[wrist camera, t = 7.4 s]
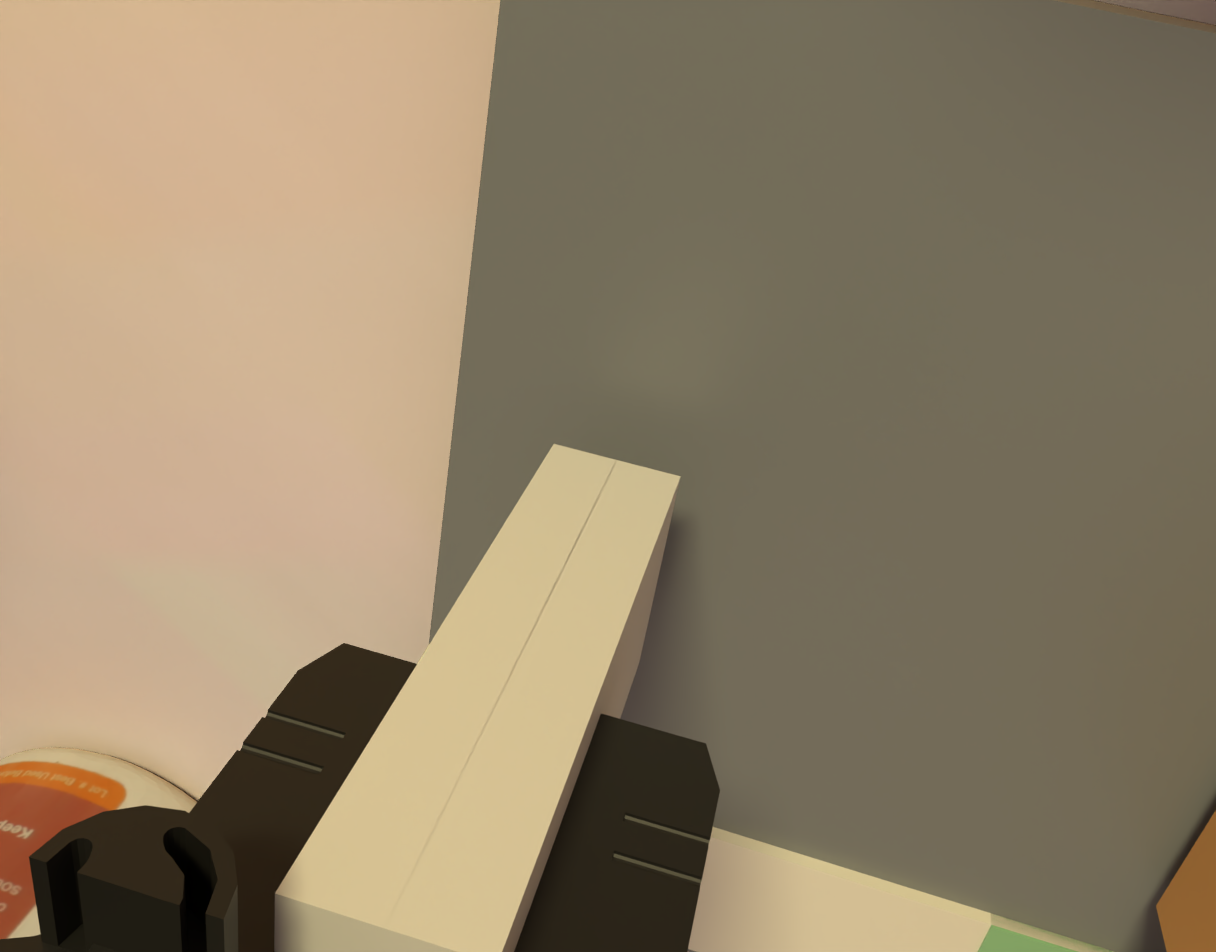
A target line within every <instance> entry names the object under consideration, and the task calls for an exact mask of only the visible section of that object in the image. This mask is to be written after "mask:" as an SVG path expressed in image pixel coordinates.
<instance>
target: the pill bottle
mask: <svg viewBox="0 0 1216 952" xmlns="http://www.w3.org/2000/svg"><path fill="white" fill-rule="evenodd" d="M196 803H197V802H196V801H195V800H194V799H192V798H191V797H190V796H188V795H187V794H186V793H184V792H183V791H182V790H180V789H178V788H177V787H175V786H174V785H172V784H171V783H169V782H167V781H165V780H164V779H162V778H160V777H158V776H156V775H155V774H153V773H151V772H149V771H147V770H145V769H143V768H141V767H138V766H136V765H134V764H131V763H129V762H127V761H124V760H121V759H118V758H115V757H112V756H109V755H105V754H100V753H95V752H90V751H85V750H80V749H74V748H61V747H56V748H39V749H32V750H27V751H23V752H19V753H15V754H13V755H10V756H8V757H5V758H3V759H1V760H0V939H8V938H19V937H30V936H36V935H39V934H41V933H40V927H39V920H38V914H37V907H36V901H35V894H34V888H33V881H32V875H31V868H30V861H29V856H30V855H32V854H33V853H34V852H35V851H36V850H38V849H39V848H40V847H41V846H43V845H44V844H45V843H46V842H47V841H49V840H50V839H51V838H52V837H54V836H55V835H56V834H57V833H58V832H60V831H61V830H62V829H64V828H66V827H69V826H71V825H73V824H76V823H78V822H80V821H83V820H85V819H87V818H89V817H92V816H94V815H96V814H99V813H101V812H104V811H110V810H117V809H124V808H130V807H137V806H144V805H147V806H155V807H162V808H169V809H177V810H184V811H186V812H188V813H189V812H190V811H191V810H192V809H193V807H194V806H195V805H196Z"/></svg>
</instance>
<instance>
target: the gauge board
mask: <svg viewBox="0 0 1216 952" xmlns="http://www.w3.org/2000/svg"><path fill="white" fill-rule="evenodd" d="M553 444H557V445H561V446H564V447H568V448H572V449H576V450H580V451H584V452H588V453H592V454H596V455H599V456H603V457H607V458H611V459H615V460H619V461H623V462H627V463H631V464H634V465H638V466H642V467H646V468H650V469H654V470H658V471H662V472H665V473H669V474H673V475H677V476H681V477H680V482H679V486H678V491H677V495H676V500H675V504H674V509H673V513H672V518H671V522H670V527H669V531H668V536H667V540H666V545H665V549H664V554H663V558H662V563H661V567H660V572H659V576H658V580H657V585H656V589H655V594H654V598H653V603H652V607H651V612H650V616H649V621H648V625H647V630H646V634H645V639H644V643H643V648H642V652H641V657H640V661H639V665H638V668H637V671H636V673H635V676H634V679H633V682H632V685H631V688H630V691H629V694H628V697H627V700H626V703H625V706H624V709H623V712H622V715H621V718H620V719H622V720H626V721H629V722H633V723H636V724H640V725H643V726H647V727H650V728H654V729H657V730H661V731H664V732H668V733H671V734H675V735H678V736H682V737H685V738H689V739H692V740H696V741H699V742H703V743H706V745H707V748H708V752H709V755H710V758H711V762H712V765H713V768H714V772H715V775H716V778H717V782H718V785H719V788H720V793H719V798H718V803H717V808H716V813H715V818H714V823H713V828H712V833H711V837H710V841H709V845H708V852H707V857H706V862H705V867H704V872H703V877H702V881H701V885H700V892H699V896H698V901H697V906H696V911H695V916H694V921H693V926H692V931H691V936H690V941H689V946H688V950H687V951H689V952H1167V951H1166V947H1165V942H1164V938H1163V934H1162V930H1161V925H1160V921H1159V917H1158V913H1157V908H1156V905H1157V903H1158V902H1159V900H1160V899H1161V897H1162V895H1163V894H1164V892H1165V891H1166V889H1167V887H1168V886H1169V884H1170V883H1171V881H1172V879H1173V878H1174V876H1175V875H1176V873H1177V871H1178V870H1179V868H1180V867H1181V865H1182V863H1183V862H1184V860H1185V859H1186V857H1187V855H1188V854H1189V852H1190V850H1191V849H1192V847H1193V846H1194V844H1195V842H1196V841H1197V839H1198V838H1199V836H1200V834H1201V833H1202V831H1203V830H1204V828H1205V826H1206V825H1207V823H1208V822H1209V820H1210V818H1211V817H1212V815H1213V814H1214V812H1215V810H1216V25H1211V24H1206V23H1201V22H1196V21H1191V20H1187V19H1182V18H1177V17H1172V16H1167V15H1162V14H1157V13H1152V12H1147V11H1143V10H1138V9H1133V8H1128V7H1123V6H1118V5H1113V4H1108V3H1103V2H1099V1H1094V0H500V9H499V18H498V27H497V36H496V45H495V54H494V63H493V72H492V81H491V90H490V99H489V108H488V117H487V126H486V135H485V144H484V153H483V162H482V171H481V180H480V189H479V198H478V207H477V216H476V225H475V234H474V243H473V252H472V261H471V270H470V279H469V288H468V297H467V306H466V315H465V324H464V333H463V342H462V351H461V360H460V369H459V378H458V387H457V396H456V405H455V414H454V423H453V432H452V441H451V450H450V459H449V468H448V477H447V486H446V495H445V504H444V513H443V522H442V531H441V540H440V549H439V558H438V567H437V576H436V585H435V594H434V603H433V612H432V621H431V630H430V639H429V644H430V643H431V641H432V639H433V638H434V636H435V635H436V633H437V631H438V630H439V628H440V626H441V625H442V623H443V622H444V620H445V618H446V617H447V615H448V614H449V612H450V610H451V609H452V607H453V605H454V604H455V602H456V601H457V599H458V597H459V596H460V594H461V593H462V591H463V589H464V588H465V586H466V585H467V583H468V581H469V580H470V578H471V576H472V575H473V573H474V572H475V570H476V568H477V567H478V565H479V564H480V562H481V560H482V559H483V557H484V556H485V554H486V552H487V551H488V549H489V547H490V546H491V544H492V543H493V541H494V539H495V538H496V536H497V535H498V533H499V531H500V530H501V528H502V527H503V525H504V523H505V522H506V520H507V518H508V517H509V515H510V514H511V512H512V510H513V509H514V507H515V506H516V504H517V502H518V501H519V499H520V497H521V496H522V494H523V493H524V491H525V489H526V488H527V486H528V485H529V483H530V481H531V480H532V478H533V477H534V475H535V473H536V472H537V470H538V468H539V467H540V465H541V464H542V462H543V460H544V459H545V457H546V456H547V454H548V452H549V451H550V449H551V448H552V446H553Z"/></svg>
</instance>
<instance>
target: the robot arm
mask: <svg viewBox="0 0 1216 952" xmlns="http://www.w3.org/2000/svg"><path fill="white" fill-rule="evenodd" d="M680 477H681V476H677V475H673V474H669V473H665V472H662V471H658V470H654V469H650V468H646V467H642V466H638V465H634V464H631V463H627V462H623V461H619V460H615V459H611V458H607V457H603V456H599V455H596V454H592V453H588V452H584V451H580V450H576V449H572V448H568V447H564V446H561V445H557V444H553V446H552V448H551V449H550V451H549V452H548V454H547V456H546V457H545V459H544V460H543V462H542V464H541V465H540V467H539V468H538V470H537V472H536V473H535V475H534V477H533V478H532V480H531V481H530V483H529V485H528V486H527V488H526V489H525V491H524V493H523V494H522V496H521V497H520V499H519V501H518V502H517V504H516V506H515V507H514V509H513V510H512V512H511V514H510V515H509V517H508V518H507V520H506V522H505V523H504V525H503V527H502V528H501V530H500V531H499V533H498V535H497V536H496V538H495V539H494V541H493V543H492V544H491V546H490V547H489V549H488V551H487V552H486V554H485V556H484V557H483V559H482V560H481V562H480V564H479V565H478V567H477V568H476V570H475V572H474V573H473V575H472V576H471V578H470V580H469V581H468V583H467V585H466V586H465V588H464V589H463V591H462V593H461V594H460V596H459V597H458V599H457V601H456V602H455V604H454V605H453V607H452V609H451V610H450V612H449V614H448V615H447V617H446V618H445V620H444V622H443V623H442V625H441V626H440V628H439V630H438V631H437V633H436V635H435V636H434V638H433V639H432V641H431V643H430V644H429V646H428V647H427V649H426V651H425V652H424V654H423V655H422V657H421V659H420V660H419V662H418V664H415V663H412V662H408V661H405V660H401V659H398V658H394V657H391V656H387V655H384V654H380V653H377V652H373V651H370V650H366V649H363V648H359V647H356V646H352V645H349V644H345V643H343V644H342V645H340V646H338V647H337V648H335V649H333V650H332V651H330V652H328V653H327V654H325V655H323V656H322V657H320V658H318V659H317V660H315V661H313V662H312V663H310V664H308V665H307V666H305V667H303V668H302V669H300V670H298V671H297V673H296V674H295V675H294V677H293V678H292V679H291V680H290V682H289V683H288V684H287V686H286V687H285V688H284V690H283V691H282V692H281V694H280V695H279V696H278V697H277V699H276V700H275V701H274V703H273V704H272V705H271V707H270V708H269V709H268V713H267V716H266V717H265V718H263V717H262V718H261V720H260V721H259V722H258V724H257V725H256V726H255V727H254V729H253V730H252V731H251V733H250V734H249V735H248V737H247V738H246V739H245V741H244V742H243V746H242V749H241V750H240V751H238V750H237V751H236V752H235V754H234V755H233V756H232V758H231V759H230V760H229V761H228V763H227V764H226V765H225V767H224V768H223V769H222V771H221V772H220V773H219V775H218V776H217V777H216V778H215V780H214V781H213V782H212V784H211V785H210V786H209V788H208V789H207V790H206V792H205V793H204V794H203V795H202V797H201V798H200V799H199V801H198V802H197V803H196V805H195V806H194V807H193V809H192V810H191V811H190V812H189V813H188V812H186V811H184V810H177V809H169V808H162V807H155V806H147V805H144V806H137V807H130V808H124V809H117V810H110V811H104V812H101V813H99V814H96V815H94V816H92V817H89V818H87V819H85V820H83V821H80V822H78V823H76V824H73V825H71V826H69V827H66V828H64V829H62V830H61V831H60V832H58V833H57V834H56V835H55V836H54V837H52V838H51V839H50V840H49V841H47V842H46V843H45V844H44V845H43V846H41V847H40V848H39V849H38V850H36V851H35V852H34V853H33V854H32V855H30V856H29V861H30V868H31V875H32V881H33V888H34V894H35V901H36V907H37V914H38V920H39V927H40V933H41V934H39V935H36V936H30V937H19V938H8V939H0V952H687V950H688V946H689V941H690V936H691V931H692V926H693V921H694V916H695V911H696V906H697V901H698V896H699V892H700V885H701V881H702V877H703V872H704V867H705V862H706V857H707V852H708V845H709V841H710V837H711V833H712V828H713V823H714V818H715V813H716V808H717V803H718V798H719V793H720V788H719V785H718V782H717V778H716V775H715V772H714V768H713V765H712V762H711V758H710V755H709V752H708V748H707V745H706V743H703V742H699V741H696V740H692V739H689V738H685V737H682V736H678V735H675V734H671V733H668V732H664V731H661V730H657V729H654V728H650V727H647V726H643V725H640V724H636V723H633V722H629V721H626V720H622V719H620V718H621V715H622V712H623V709H624V706H625V703H626V700H627V697H628V694H629V691H630V688H631V685H632V682H633V679H634V676H635V673H636V671H637V668H638V665H639V661H640V657H641V652H642V648H643V643H644V639H645V634H646V630H647V625H648V621H649V616H650V612H651V607H652V603H653V598H654V594H655V589H656V585H657V580H658V576H659V572H660V567H661V563H662V558H663V554H664V549H665V545H666V540H667V536H668V531H669V527H670V522H671V518H672V513H673V509H674V504H675V500H676V495H677V491H678V486H679V482H680Z"/></svg>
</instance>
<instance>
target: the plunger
mask: <svg viewBox="0 0 1216 952" xmlns="http://www.w3.org/2000/svg"><path fill="white" fill-rule="evenodd" d="M1156 908H1157V913H1158V917H1159V921H1160V925H1161V930H1162V934H1163V938H1164V942H1165V947H1166V951H1167V952H1216V810H1215V812H1214V814H1213V815H1212V817H1211V818H1210V820H1209V822H1208V823H1207V825H1206V826H1205V828H1204V830H1203V831H1202V833H1201V834H1200V836H1199V838H1198V839H1197V841H1196V842H1195V844H1194V846H1193V847H1192V849H1191V850H1190V852H1189V854H1188V855H1187V857H1186V859H1185V860H1184V862H1183V863H1182V865H1181V867H1180V868H1179V870H1178V871H1177V873H1176V875H1175V876H1174V878H1173V879H1172V881H1171V883H1170V884H1169V886H1168V887H1167V889H1166V891H1165V892H1164V894H1163V895H1162V897H1161V899H1160V900H1159V902H1158V903H1157V905H1156Z"/></svg>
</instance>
